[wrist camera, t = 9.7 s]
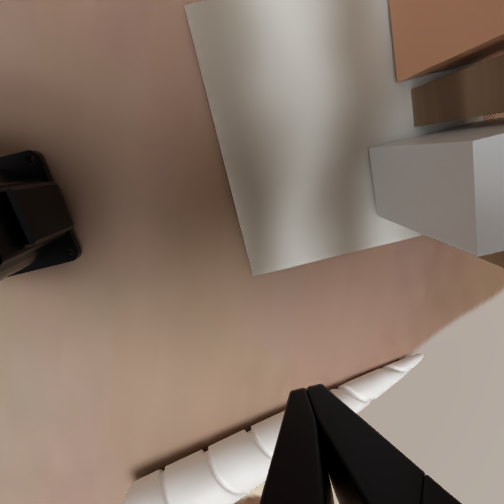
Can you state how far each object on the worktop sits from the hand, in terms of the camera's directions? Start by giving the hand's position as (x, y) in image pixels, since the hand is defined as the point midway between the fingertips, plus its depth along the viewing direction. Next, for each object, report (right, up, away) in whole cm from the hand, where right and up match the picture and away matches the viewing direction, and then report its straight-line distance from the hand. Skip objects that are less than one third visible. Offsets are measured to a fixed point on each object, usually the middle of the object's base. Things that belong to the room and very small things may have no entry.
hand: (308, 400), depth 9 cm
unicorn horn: (-1, -9, +17) cm, 19 cm away
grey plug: (+9, +9, +11) cm, 16 cm away
